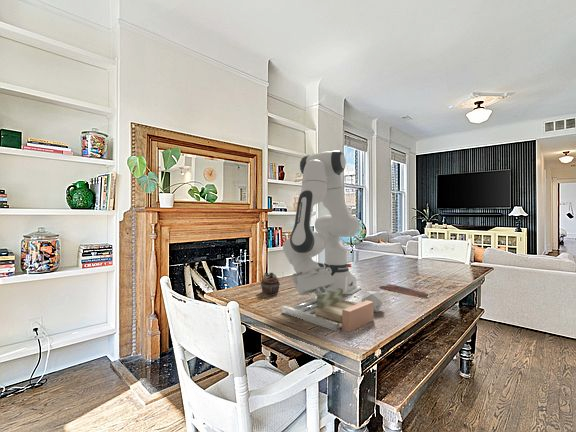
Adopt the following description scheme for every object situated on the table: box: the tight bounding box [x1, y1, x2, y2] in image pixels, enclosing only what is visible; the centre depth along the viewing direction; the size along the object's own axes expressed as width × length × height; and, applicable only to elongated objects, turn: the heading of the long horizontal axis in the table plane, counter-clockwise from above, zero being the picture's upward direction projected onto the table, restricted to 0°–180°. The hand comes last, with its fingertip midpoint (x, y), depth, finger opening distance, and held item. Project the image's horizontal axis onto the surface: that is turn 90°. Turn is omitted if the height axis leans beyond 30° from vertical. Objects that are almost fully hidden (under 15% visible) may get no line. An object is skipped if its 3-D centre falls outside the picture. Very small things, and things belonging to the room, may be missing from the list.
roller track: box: [281, 295, 342, 332], centre depth 126 cm, size 22×27×2 cm
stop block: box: [341, 300, 374, 333], centre depth 115 cm, size 16×3×7 cm, turn 135°
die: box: [361, 290, 383, 313], centre depth 131 cm, size 8×9×10 cm
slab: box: [315, 288, 358, 323], centre depth 120 cm, size 16×12×7 cm
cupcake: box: [260, 272, 281, 296], centre depth 158 cm, size 10×10×10 cm
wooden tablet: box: [378, 283, 429, 298], centre depth 161 cm, size 26×2×10 cm
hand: (325, 298), depth 126 cm, fingers closed
